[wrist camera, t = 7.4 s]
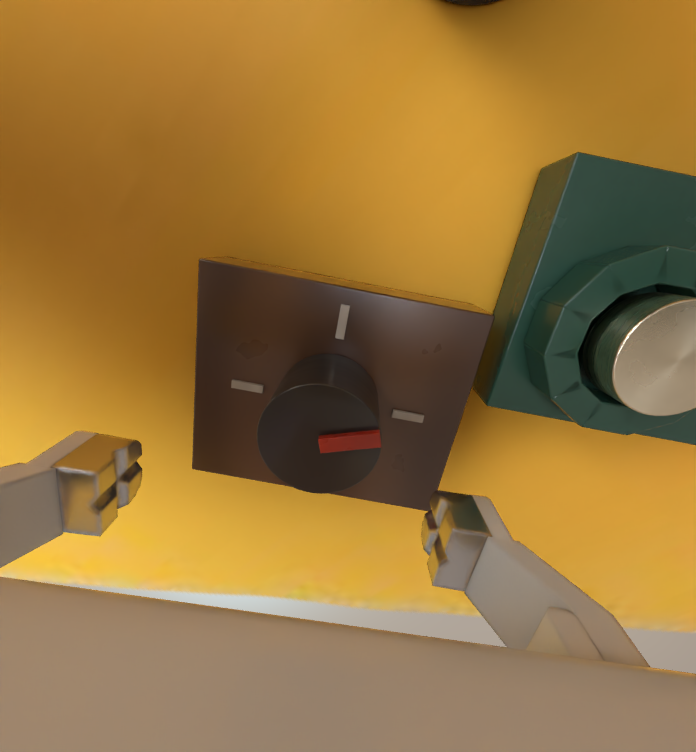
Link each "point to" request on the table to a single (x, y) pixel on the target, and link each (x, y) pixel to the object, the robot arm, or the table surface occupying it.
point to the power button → (646, 353)
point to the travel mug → (471, 2)
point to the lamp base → (587, 287)
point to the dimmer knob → (322, 425)
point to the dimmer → (340, 337)
